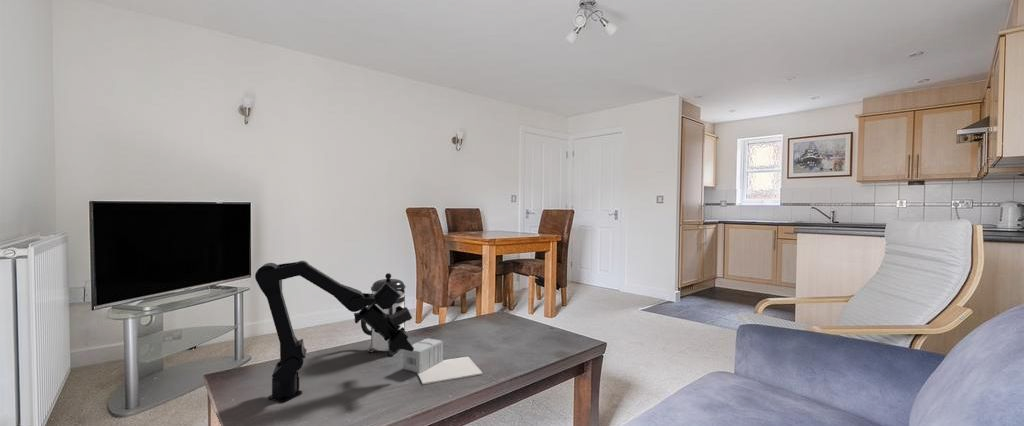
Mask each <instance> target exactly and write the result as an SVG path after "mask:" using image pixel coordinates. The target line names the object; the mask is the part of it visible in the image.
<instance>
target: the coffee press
mask: <svg viewBox="0 0 1024 426" xmlns="http://www.w3.org/2000/svg"><path fill="white" fill-rule="evenodd" d="M384 283H387V284H388V285H389V286H390V287H392V288H394V289H395V290H396V291H397V292H398V293H399V294H400V295H401V297H400V298H399V299H398V300H397V301H396V302H395V303H394V304H393V305H392V306H391V307H390V308H389V309H384V310H383V309H382V308H381V307H380V306H378V305H377V304H375V305H376V306H377V307H378V308H379V309H380V310H381V311H383V312H384V313H385V314H389V315H390V316H391V315H393V314H394V313H395V309H396V307H398V306H401V307H402V308H404V307H406V301H405V300H406V296H407V295H406V294H407V292H406V285H405V283H404V282H403V281H402V280H400V279H397V278H392V274H391V273H388V272H387V273H386V274H385V278H384V279H383V278H382V279H379V280H376V281H374V282H373V283H372V286H370V290H371V291H370V292H371V294H375V293H376V292H377V291H378V290H379V289H380V288H381V287H382V285H383V284H384ZM363 308H364V307H363ZM363 308H362V309H363ZM362 309H361V310H362ZM361 310H360V311H361ZM405 323H406V322H404V323H402V324H400V325H399V326H400V328H399V329H401V328H402V327H403V328H404V331H405V332H406V330H405V329H406V324H405ZM360 326H361V330H362V331H363V333H364V334H365V335H367V336H370V346H369V347H368V349H367V352H368V354H372V353H373V352H374V351H378V352H380V351H381V352H388V357H393V356H394V353H393V352H392V351H391V350H390V349H389V347H388V341H389V340H390V338H389V339H388V340H387V341H385V340H384V337H382V336H381V335H380V334H379V333H376V332H375V331H374V329H373V328H372V327H370V329H371V330H370V329H368V327H367V323H366V322H364V321H363V320H362V319H361V320H360ZM399 329H398V330H399ZM371 348H373V349H372V350H371ZM370 350H371V351H370ZM369 352H371V353H369Z"/></svg>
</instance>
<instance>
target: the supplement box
mask: <svg viewBox="0 0 1024 426" xmlns="http://www.w3.org/2000/svg"><path fill="white" fill-rule="evenodd" d="M443 343H444V342H443V340H439V339H434V338H429V337H428V338H425V339H422V340H420V341H418V342H415V343H413V344H411V345H412V346H413V348H414V350H413V351H408V350H404V349H403V356H402V357H403V370H406V371H409V372H412V373H413V372H414V373H416V374H417V373H420V372H422V371H424V370H426V369H428V368H430V367H432V366H434V365H435V364H437V363H439V362H441V361H443V360H444V354H443V353H444V351H443V349H444V348H443V347H444V344H443Z"/></svg>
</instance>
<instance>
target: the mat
mask: <svg viewBox="0 0 1024 426" xmlns="http://www.w3.org/2000/svg"><path fill="white" fill-rule="evenodd" d="M416 374H417V377H418V379H419V380H420V382H421V384H422V385H428V384H429V385H430V384H434V383H435V384H436V383H441V382H445V381H451V380H458V379H464V378H470V377H475V376H476V377H477V376H481V375H483V374H484V373H483V372H482V370H481V369H480V368H479V367H478V366H477V365H476V364H475V362H473V360H472V359H471V358H470V357H469V356H462V357H457V358H450V359H449V358H448V359H443V361H441V362H439V363H437V364H435V365H434V366H432V367H430V368H428V369H426V370H424V371H422V372H420V373H417V372H416Z"/></svg>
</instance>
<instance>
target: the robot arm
mask: <svg viewBox="0 0 1024 426" xmlns="http://www.w3.org/2000/svg"><path fill="white" fill-rule="evenodd" d="M294 277H302V278H303V279H305V280H306V281H308V282H309V283H311V284H313V285H314V286H316V287H318V288H320V289H322V290H323V291H325V292H326V293H328V294H330V295H331V296H333V297H334V298H335V299H336V300H337V301H338V302H339V303H340V304H341V305H342V306H344V307H345V308H346V309H347V310H348V311H349V312H353V315H354V323H355V324H358V323H359V322H361V319H362V320H363V321H364V322H366V325H368V326H369V327H370V328H371V327H372V328H373V329H374V331H375V332H376V333H379V334H380V335H381V336H382V337H384V340H385V341H387V340H388V339H389V338H390V340H389V341H388V347H389V349H390V350H391V351H392V352H393V354H394V353H396V351H397V350H399V349H400V350H403V351H404V350H408V351H413V350H414V348H413V346H412V345H413V344H411V342H410V341H409V340H408V338H409V335H408V334H407V332H406V330H405V331H404V328H403V327H402V328H401V329H399V328H400V326H399V325H400V324H402V323H404V322H405V323H406V322H407V321H410V320H411V319H413V316H412V314H411V313H410V310H409V309H408V307H406V306H405V307H404V308H402V307H401V306H398V307H396V309H395V313H394V314H393V315H391V316H390V315H389V314H385V313H384V312H383V311H381V310H380V309H379V308H378V307H377V306H376V305H375V304H377V305H378V306H380V307H381V308H382V309H383V310H384V309H389V308H390V307H391V306H392V305H393V304H394V303H395V302H396V301H397V300H398V299H399V298H400V297H401V295H400V294H399V293H398V292H397V291H396V290H395V289H394V288H392V287H390V286H389V285H388V284H387V283H384V284H383V285H382V287H381V288H380V289H379V290H378V291H377V292H376V293H375V294H372V293H369V292H367V293H365V292H364V293H363V292H362V291H361V290H359V289H356V288H353V287H351V286H348V285H345V284H342V283H340V282H338V281H337V280H335V279H333V278H331V276H329V275H327V274H325V273H324V272H322V271H321V270H319V269H317V268H316V267H314V266H313V265H311V264H309V262H307V261H305V260H299V261H295V262H287V263H280V264H277V263H274V262H267V263H265V264H263V265H262V266H261V267H259V268H258V269H257V271H256V272H255V274H254V279H255V281H256V283H257V285H258V287H259V288H260V290H261V292H262V293H263V294H264V296H265V297H266V300H267V303H268V305H269V310H270V313H271V317H272V320H273V323H274V327H275V331H276V334H277V337H278V341H279V359H280V360H279V361H278V362H276V364H275V367H274V370H273V373H272V375H271V395H269V396H268V397H267V399H268V398H270V399H269V400H272V399H275V400H274V401H276V400H278V401H277V402H280V401H281V403H285V402H287V401H289V399H290V400H292V399H293V398H295V397H297V396H299V395H301V394H303V390H300V375H299V371H300V369H301V368H303V365H304V360H305V358H306V355H307V349H306V348H305V345H304V339H303V338H301V339H298V338H297V336H296V335H295V332H294V329H293V326H292V321H291V319H290V318H291V317H290V314H289V312H288V307H287V305H286V301H285V297H284V293H283V281H284V280H286V279H291V278H294ZM363 307H364V308H363ZM362 308H363V309H362ZM361 309H362V310H361ZM398 329H399V330H398Z"/></svg>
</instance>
